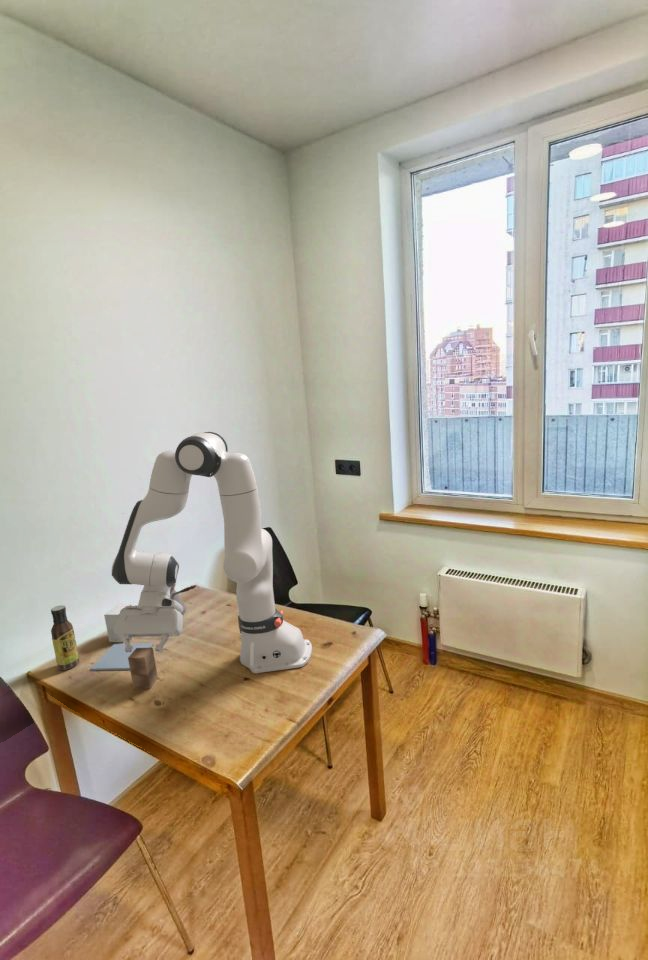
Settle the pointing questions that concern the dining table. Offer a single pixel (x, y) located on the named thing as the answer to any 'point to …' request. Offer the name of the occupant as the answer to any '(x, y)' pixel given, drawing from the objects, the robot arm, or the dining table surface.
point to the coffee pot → (177, 598)
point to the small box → (114, 622)
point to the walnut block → (143, 668)
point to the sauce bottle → (63, 639)
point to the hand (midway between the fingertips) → (143, 651)
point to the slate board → (117, 657)
